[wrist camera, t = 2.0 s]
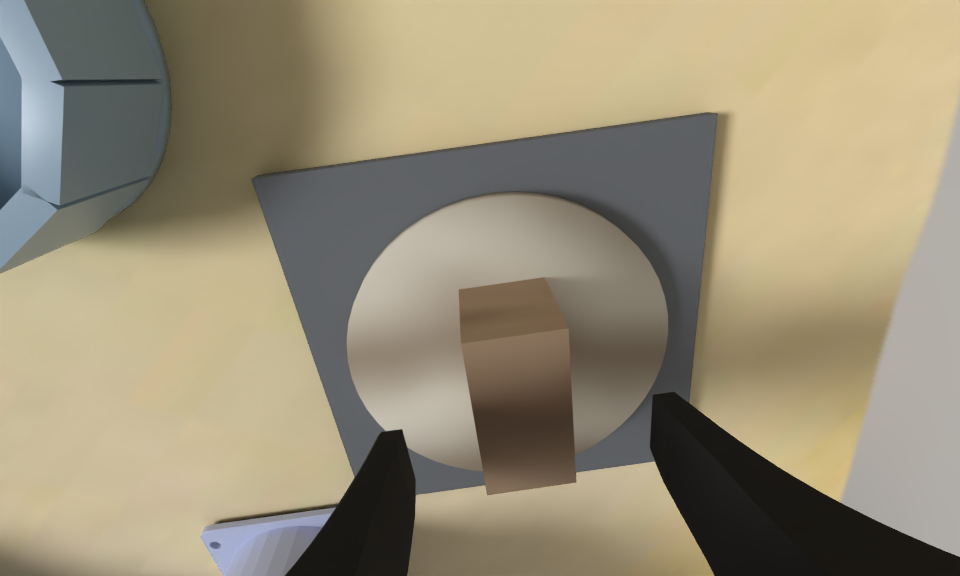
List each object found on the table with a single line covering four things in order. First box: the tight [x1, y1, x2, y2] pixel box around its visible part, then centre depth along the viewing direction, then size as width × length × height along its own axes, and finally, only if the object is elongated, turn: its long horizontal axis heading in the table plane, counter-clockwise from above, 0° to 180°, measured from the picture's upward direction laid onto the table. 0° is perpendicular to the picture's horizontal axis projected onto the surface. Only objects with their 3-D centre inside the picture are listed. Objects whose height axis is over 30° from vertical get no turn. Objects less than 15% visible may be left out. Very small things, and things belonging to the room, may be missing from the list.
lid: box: [347, 191, 668, 495], centre depth 16 cm, size 12×12×4 cm
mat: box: [252, 112, 717, 495], centre depth 18 cm, size 15×15×1 cm
